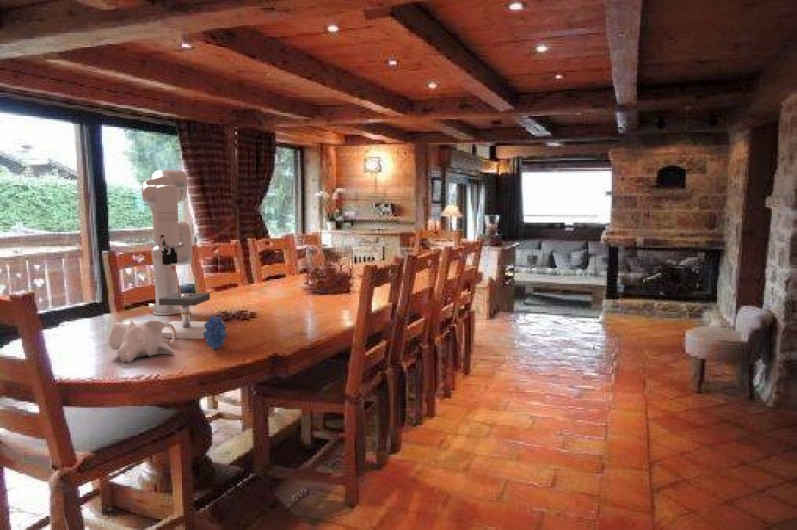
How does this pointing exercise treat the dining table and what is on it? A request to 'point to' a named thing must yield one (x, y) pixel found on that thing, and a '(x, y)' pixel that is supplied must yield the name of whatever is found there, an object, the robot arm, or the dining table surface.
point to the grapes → (215, 332)
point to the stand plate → (185, 330)
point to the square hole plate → (184, 299)
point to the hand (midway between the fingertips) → (170, 263)
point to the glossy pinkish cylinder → (185, 314)
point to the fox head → (138, 339)
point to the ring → (172, 333)
